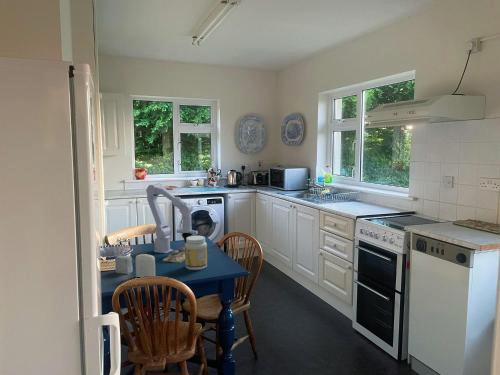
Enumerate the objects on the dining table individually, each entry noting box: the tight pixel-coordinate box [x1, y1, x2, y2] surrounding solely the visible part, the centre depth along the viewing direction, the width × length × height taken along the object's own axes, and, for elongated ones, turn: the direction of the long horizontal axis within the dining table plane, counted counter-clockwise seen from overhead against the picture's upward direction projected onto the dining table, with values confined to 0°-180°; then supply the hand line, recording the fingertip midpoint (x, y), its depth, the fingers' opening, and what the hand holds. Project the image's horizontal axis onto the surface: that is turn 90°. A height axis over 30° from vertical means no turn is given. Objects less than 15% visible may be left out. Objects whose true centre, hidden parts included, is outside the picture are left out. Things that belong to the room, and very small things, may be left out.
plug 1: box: [170, 249, 179, 255], centre depth 226 cm, size 4×4×4 cm
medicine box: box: [114, 255, 134, 275], centre depth 205 cm, size 8×4×9 cm, turn 71°
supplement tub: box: [184, 235, 208, 271], centre depth 212 cm, size 12×12×17 cm
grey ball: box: [177, 246, 185, 252], centre depth 233 cm, size 4×4×4 cm
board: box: [162, 246, 185, 264], centre depth 233 cm, size 12×22×4 cm, turn 157°
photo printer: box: [135, 253, 156, 278], centre depth 197 cm, size 10×4×12 cm, turn 77°
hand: (187, 244), depth 239 cm, fingers closed, pressing on red plug
